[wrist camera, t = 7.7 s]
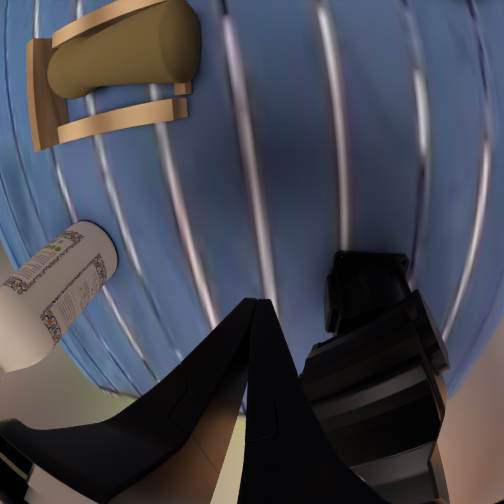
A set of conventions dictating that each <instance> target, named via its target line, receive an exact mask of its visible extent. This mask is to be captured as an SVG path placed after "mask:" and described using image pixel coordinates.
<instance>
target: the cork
mask: <svg viewBox="0 0 504 504" xmlns="http://www.w3.org/2000/svg"><path fill="white" fill-rule="evenodd" d="M200 56H201V33H200V26H199V23H198V20H197V16H196V14H195V12H194V10H193V8H192V7H191V6H190V5H189V4H188V2H187V1H185V0H170V1H167V2H164V3H161V4H159V5H156V6H154V7H151V8H149V9H146V10H144V11H142V12H139V13H137V14H135V15H132V16H130V17H128V18H126V19H124V20H122V21H120V22H118V23H116V24H114V25H112V26H110V27H108V28H106V29H104V30H102V31H100V32H99V33H97V34H95V35H93V36H92V37H90V38H89V37H80V38H75V39H73V40H71V41H68V42H66V43H64V44H63V45H62V46H61V47H60V48H59V49H58V50H57V51H56V52H55V53H54V54H53V56H52V58H51V60H50V62H49V66H48V71H47V76H48V82H49V85H50V87H51V89H52V90H53V91H54V93H56V94H57V95H59V96H60V97H62V98H66V99H76V98H80V97H84V96H86V95H88V94H89V93H91V92H92V91H94V90H95V89H96V88H97V87H99V86H110V85H124V84H149V83H177V84H181V83H188V82H189V81H190V80H191V79H192V78H193V77H194V75H195V73H196V71H197V69H198V65H199V62H200Z"/></svg>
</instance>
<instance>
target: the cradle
mask: <svg viewBox="0 0 504 504" xmlns="http://www.w3.org/2000/svg"><path fill="white" fill-rule="evenodd" d="M167 1H170V0H118V1H116V2H113V3H111V4H109V5H106V6H104V7H102V8H100V9H98V10H96V11H93V12H91V13H89V14H87V15H85V16H83V17H81V18H80V19H78V20H76V21H74V22H72V23H70V24H68V25H67V26H65V27H63V28H61V29H60V30H58V31H56V32H55V33H53V38H52V39H51V38H37V39H32V40H31V41H29V42H28V43H27V52H26V73H27V95H28V107H29V117H30V125H31V133H32V139H33V146H34V151H35V152H38V151H41V150H44V149H46V148H49V147H51V146H54V145H57V144H59V143H60V144H61V143H64V142H68V141H71V140H75V139H79V138H83V137H87V136H91V135H95V134H99V133H104V132H108V131H113V130H118V129H123V128H128V127H133V126H139V125H145V124H151V123H158V122H165V121H172V120H177V119H181V118H186V117H188V113H187V100H186V98H173V99H166V100H160V101H155V102H150V103H144V104H140V105H135V106H130V107H126V108H122V109H117V110H113V111H109V112H106V113H102V114H98V115H95V116H91V117H88V118H84V119H81V120H78V121H75V122H72V123H69V122H68V114H67V105H66V98H62V97H60V96H59V95H57V94H56V93H54V91H53V90H52V89H51V87H50V85H49V82H48V76H47V71H48V66H49V62H50V60H51V58H52V56H53V54H54V53H55V52H56V51H57V50H58V49H59V48H60V47H61V46H62V45H63V44H64V43H66V42H68V41H71V40H73V39H75V38H80V37H89V38H90V37H92V36H93V35H95V34H97V33H99V32H100V31H102V30H104V29H106V28H108V27H110V26H112V25H114V24H116V23H118V22H120V21H122V20H124V19H126V18H128V17H130V16H132V15H135V14H137V13H139V12H142V11H144V10H146V9H149V8H151V7H154V6H156V5H159V4H161V3H164V2H167ZM174 90H175V95H186V94H192V87H191V80H190V81H189V82H188V83H181V84H177V83H174Z"/></svg>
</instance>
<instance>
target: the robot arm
mask: <svg viewBox="0 0 504 504" xmlns="http://www.w3.org/2000/svg"><path fill="white" fill-rule="evenodd" d="M339 257H343V258H342V259H338V258H339ZM402 260H405V261H404V262H401V261H402ZM408 264H409V259H408V257H407V256H406V255H400V254H382V253H364V252H346V251H339V252H337V253H336V254H335V256H334V263H333V270H332V274H329V275H328V276H327V280H326V288H325V294H324V312H325V330H326V331H327V332H328V333H333V338H331V339H328V340H326V341H324V342H322V343H321V342H319V343H317V344H315V345H313V348H312V350H311V352H310V353H309V355H308V357H307V358H306V361H305V367H304V369H303V372H302V373H300V375H299V376H298V373H297V370H296V367H295V365H294V362H293V359H292V356H291V354H290V351H289V348H288V345H287V343H286V340H285V337H284V334H283V332H282V329H281V326H280V323H279V321H278V318H277V315H276V312H275V310H274V307H273V304H272V301H271V300H270V299H261V298H260V299H258V300H257V299H256V298H244V299H243V300H242V301H241V302H240V303H239V304H238V305H237V306H236V307H235V308H234V309H233V310H232V311H231V312H230V313H229V314H228V315H227V316H226V317H225V318H224V319H223V320H222V321H221V322H220V324H219V325H218V326H217V327H216V328H215V329H214V330H213V331H212V332H211V333H210V334H209V335H208V336H207V337H206V338H205V339H204V340H203V341H202V342H201V343H200V344H199V345H198V346H197V347H196V348H195V349H194V350H193V351H192V352H191V353H190V354H189V355H188V356H187V357H186V358H185V359H184V360H183V361H182V362H181V364H178V365H177V366H176V367H175V368H174V369H173V370H172V371H171V372H170V373H169V374H168V375H167V376H166V377H165V378H164V379H163V380H162V381H160V382H159V383H158V384H157V385H155V386H154V387H153V388H152V389H151V390H149V391H148V392H147V393H145V394H144V395H143V396H141V397H140V398H139V399H137V400H136V401H135V402H133V403H132V404H131V405H129V406H128V407H127V408H125V409H124V410H122V411H121V412H120V413H118V414H117V415H115V416H114V417H112V418H110V419H107V420H105V421H102V422H99V423H94V424H88V425H81V426H74V427H67V428H59V429H50V430H38V429H32V428H29V427H27V426H26V425H24V424H23V423H21V422H20V421H19V420H18V419H16V418H10V419H5V420H1V421H0V504H210V502H211V499H212V496H213V493H214V490H215V487H216V484H217V480H218V478H219V474H220V471H221V468H222V465H223V462H224V459H225V456H226V452H227V449H228V446H229V443H230V439H231V436H232V433H233V429H234V426H235V423H236V420H237V416H238V413H239V409H240V406H241V403H242V399H243V396H244V392H245V389H246V385H247V382H248V389H247V410H246V431H245V450H244V463H243V470H242V476H241V483H240V489H239V495H238V501H237V504H450V500H449V494H448V489H447V484H446V479H445V474H444V470H443V465H442V461H441V457H440V453H439V449H438V445H437V439H438V436H439V432H440V429H441V426H442V423H443V419H444V415H445V408H446V400H447V387H446V384H445V381H444V378H443V375H442V373H444V372H446V371H448V370H449V369H450V365H449V359H448V354H447V349H446V346H445V344H444V341H443V339H442V336H441V334H440V331H439V329H438V326H437V324H436V322H435V320H434V318H433V316H432V314H431V312H430V310H429V308H428V307H427V305H426V303H425V301H424V299H423V297H422V295H421V294H420V292H419V290H418V289H416V290H415V291H413V292H411V290H410V288H409V285H408V283H407V281H406V278H405V275H406V271H407V268H408ZM361 478H362V479H363V480H364V481H363V480H362V479H361ZM494 504H504V499H502V500H500V501H498V502H496V503H494Z"/></svg>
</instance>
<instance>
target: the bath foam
mask: <svg viewBox="0 0 504 504" xmlns="http://www.w3.org/2000/svg"><path fill="white" fill-rule="evenodd" d="M116 267H117V254H116V250H115V248H114V245H113V243H112V241H111V240H110V238H109V237H108V236H107V234H106V233H105V232H104V231H103V230H102V229H101V228H99V227H98V226H96V225H95V224H93V223H90V222H86V221H81V222H77V223H75V224H73V225H72V226H71V227H69V228H68V229H67V230H65V231H64V232H63V233H61V234H60V235H59V236H57V237H56V238H55V239H54V240H52V241H51V242H50V243H49V244H47V245H46V246H45V247H44V248H43V249H41V250H40V251H39V252H38V253H37V254H35V255H34V256H33V257H32V258H31V259H30V260H28V261H27V262H26V263H25V264H24V265H23V266H22V267H21V268H19V269H18V270H17V271H16V272H15V273H14V274H13V275H12V276H11V277H10V278H9V279H8V280H7V281H6V282H4V283H3V284H2V285H1V287H0V380H1V379H2V377H3V376H4V373H6V372H9V371H14V370H18V369H22V368H25V367H29V366H31V365H33V364H36V363H37V362H39V361H40V360H42V359H43V358H44V357H45V356H47V355H48V353H49V352H50V351H51V350H52V349H53V348H54V347H55V346H56V344H57V343H58V342H59V340H60V339H61V338H62V336H63V335H64V334H65V332H66V331H67V330H68V328H69V327H70V326H71V325H72V323H73V322H74V321H75V319H76V318H77V317H78V316H79V314H80V313H81V312H82V311H83V309H84V308H85V307H86V306H87V305H88V303H89V302H90V301H91V300H92V299H93V297H94V296H95V295H96V294H97V293H98V291H99V290H100V289H101V288H102V287H103V285H104V284H105V283H106V282H107V280H108V279H109V278H110V277H111V276H112V275H113V273H114V272H115V270H116Z"/></svg>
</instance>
